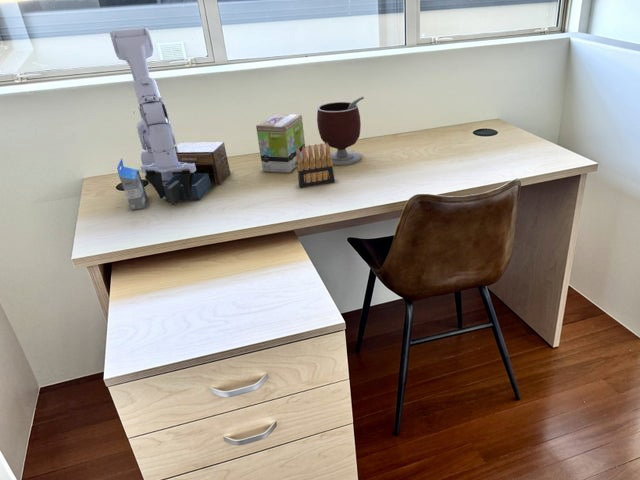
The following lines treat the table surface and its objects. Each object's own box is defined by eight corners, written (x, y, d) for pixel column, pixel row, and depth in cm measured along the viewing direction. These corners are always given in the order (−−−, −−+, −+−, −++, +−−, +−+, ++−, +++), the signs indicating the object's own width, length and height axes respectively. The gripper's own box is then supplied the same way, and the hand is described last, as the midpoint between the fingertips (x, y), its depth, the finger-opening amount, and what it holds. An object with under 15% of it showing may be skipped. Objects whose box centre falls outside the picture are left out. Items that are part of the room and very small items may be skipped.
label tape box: (145, 208, 156) (132, 165, 150) (129, 210, 155) (116, 167, 149) (147, 197, 163) (135, 156, 157) (133, 199, 162) (120, 157, 156)
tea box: (291, 173, 176) (284, 126, 169) (262, 172, 178) (254, 125, 170) (307, 157, 189) (302, 113, 181) (279, 156, 191) (273, 112, 183)
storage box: (156, 208, 156) (150, 188, 152) (179, 187, 169) (174, 168, 166) (191, 208, 155) (186, 188, 152) (211, 187, 168) (207, 168, 165)
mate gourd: (318, 166, 181) (310, 102, 170) (325, 152, 193) (318, 92, 182) (365, 165, 180) (361, 101, 169) (369, 152, 192) (365, 91, 181)
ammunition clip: (333, 180, 170) (329, 141, 163) (335, 182, 168) (331, 142, 162) (298, 186, 167) (293, 146, 160) (300, 188, 165) (294, 148, 159)
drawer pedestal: (218, 187, 168) (210, 153, 163) (173, 187, 169) (164, 154, 164) (230, 173, 178) (223, 141, 173) (188, 174, 179) (180, 142, 174)
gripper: (130, 154, 146) (144, 202, 153) (183, 153, 145) (195, 202, 152) (142, 145, 152) (155, 192, 159) (193, 145, 151) (205, 192, 158)
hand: (176, 196), depth 156 cm, fingers open, 7 cm apart
